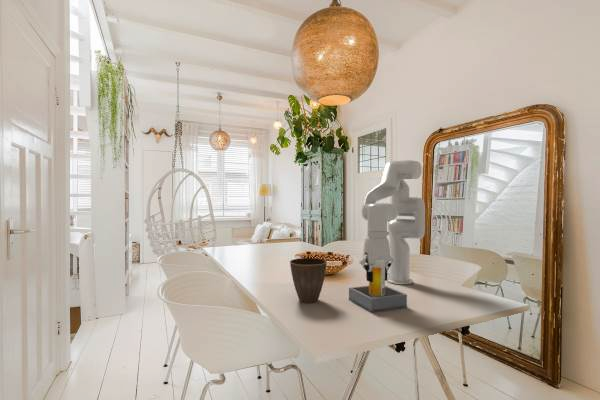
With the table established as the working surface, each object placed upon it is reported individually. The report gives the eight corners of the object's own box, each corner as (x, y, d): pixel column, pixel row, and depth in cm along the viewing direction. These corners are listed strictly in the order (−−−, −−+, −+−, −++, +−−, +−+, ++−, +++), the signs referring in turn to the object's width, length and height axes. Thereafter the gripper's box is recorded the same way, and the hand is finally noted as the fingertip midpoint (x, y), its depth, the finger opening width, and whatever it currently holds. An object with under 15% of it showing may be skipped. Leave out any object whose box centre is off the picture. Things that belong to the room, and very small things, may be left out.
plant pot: (304, 309, 119) (304, 266, 119) (282, 299, 131) (282, 260, 131) (334, 302, 128) (334, 262, 128) (311, 293, 140) (311, 256, 140)
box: (348, 299, 131) (348, 287, 131) (381, 295, 136) (381, 284, 136) (371, 312, 116) (371, 298, 116) (406, 307, 122) (406, 294, 122)
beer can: (373, 292, 130) (373, 255, 130) (387, 295, 126) (387, 257, 126) (366, 295, 126) (366, 257, 126) (380, 299, 122) (380, 259, 122)
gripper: (389, 233, 133) (389, 276, 133) (353, 234, 127) (353, 280, 126) (401, 235, 126) (400, 281, 126) (363, 236, 120) (363, 285, 119)
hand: (376, 280), depth 126 cm, fingers closed on beer can, 6 cm apart
